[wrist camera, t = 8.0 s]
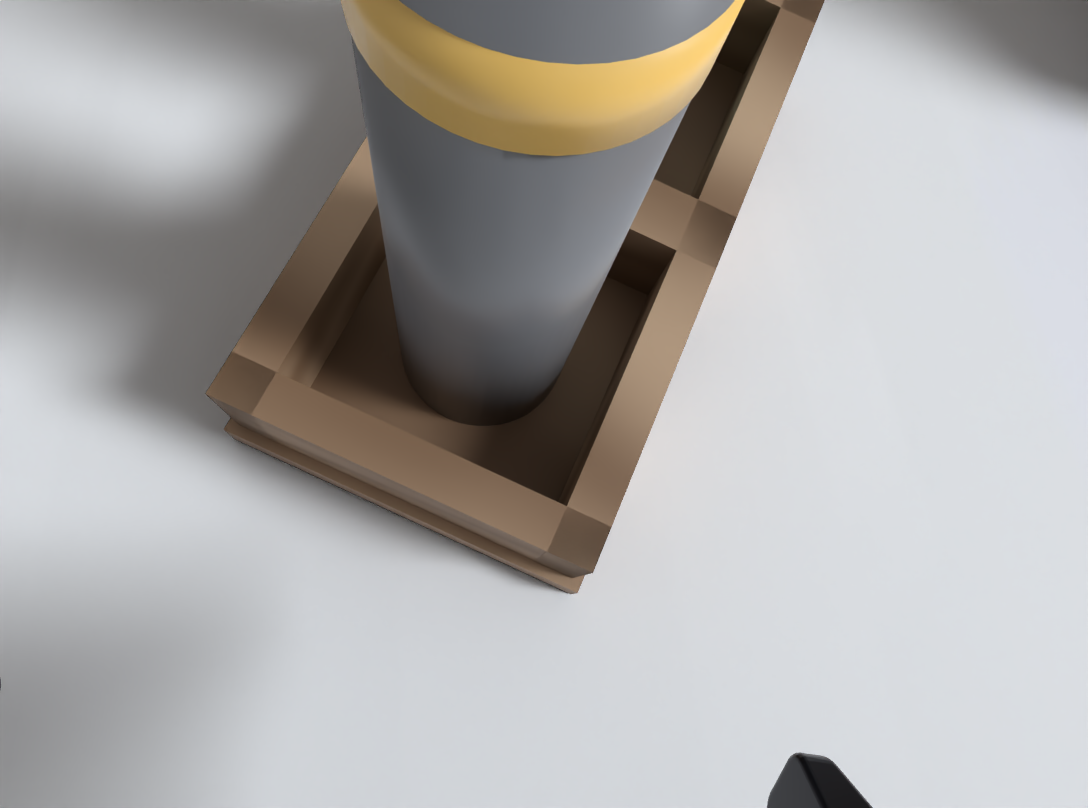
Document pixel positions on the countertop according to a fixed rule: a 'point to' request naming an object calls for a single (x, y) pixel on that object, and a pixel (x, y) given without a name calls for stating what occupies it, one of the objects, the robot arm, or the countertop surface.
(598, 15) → the plug charcoal
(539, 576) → the slot rack
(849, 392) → the countertop surface
